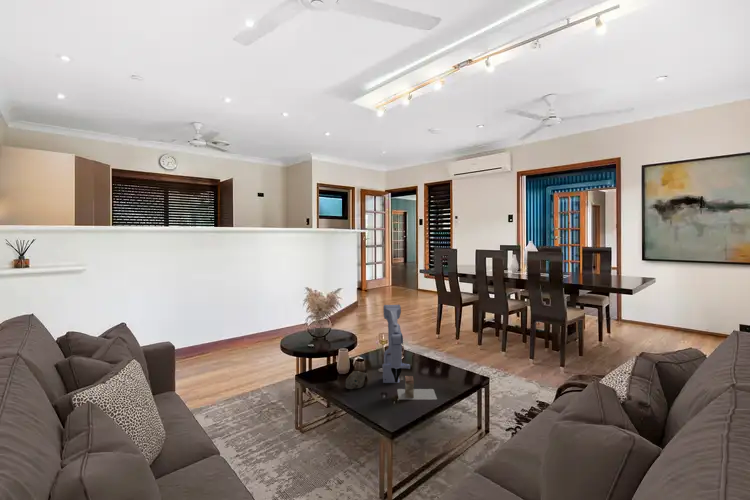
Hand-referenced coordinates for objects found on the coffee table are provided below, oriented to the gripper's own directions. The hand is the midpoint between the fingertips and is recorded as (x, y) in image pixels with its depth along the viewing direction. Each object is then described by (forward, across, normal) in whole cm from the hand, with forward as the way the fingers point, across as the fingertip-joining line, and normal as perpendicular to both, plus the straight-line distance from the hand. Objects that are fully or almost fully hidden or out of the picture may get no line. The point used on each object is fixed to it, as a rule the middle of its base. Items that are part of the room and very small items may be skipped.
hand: (396, 381), depth 191 cm
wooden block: (+7, +7, 0) cm, 10 cm away
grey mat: (+8, +11, +1) cm, 13 cm away
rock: (+8, -21, +11) cm, 25 cm away
